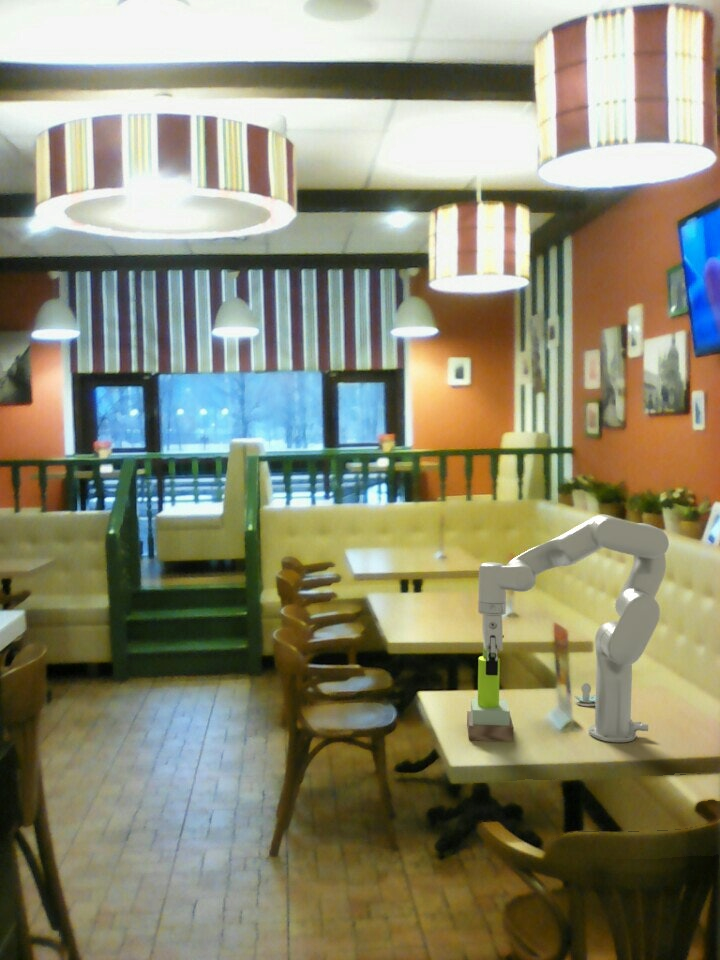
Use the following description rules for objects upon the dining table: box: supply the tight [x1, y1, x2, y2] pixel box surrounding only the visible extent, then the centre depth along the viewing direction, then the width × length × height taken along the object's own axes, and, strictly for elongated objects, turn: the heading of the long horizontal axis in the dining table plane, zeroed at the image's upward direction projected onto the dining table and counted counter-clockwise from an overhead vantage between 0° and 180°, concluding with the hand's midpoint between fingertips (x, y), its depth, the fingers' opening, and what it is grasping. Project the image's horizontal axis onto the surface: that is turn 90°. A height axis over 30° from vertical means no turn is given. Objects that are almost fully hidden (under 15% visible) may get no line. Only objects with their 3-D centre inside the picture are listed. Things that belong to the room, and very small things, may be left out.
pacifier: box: [573, 682, 596, 707], centre depth 270 cm, size 7×6×6 cm
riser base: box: [466, 710, 514, 743], centre depth 244 cm, size 12×12×4 cm
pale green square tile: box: [470, 698, 511, 726], centre depth 243 cm, size 10×10×4 cm
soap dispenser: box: [477, 634, 505, 708], centre depth 243 cm, size 6×7×20 cm
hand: (490, 670), depth 243 cm, fingers closed on soap dispenser, 5 cm apart
